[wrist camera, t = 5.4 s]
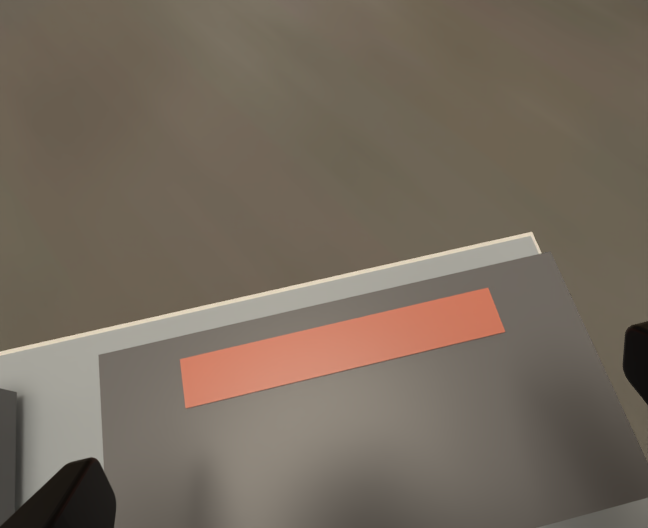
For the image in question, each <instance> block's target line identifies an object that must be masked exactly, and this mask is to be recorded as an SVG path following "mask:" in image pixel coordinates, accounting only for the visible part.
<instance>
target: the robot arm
mask: <svg viewBox="0 0 648 528" xmlns="http://www.w3.org/2000/svg"><path fill="white" fill-rule="evenodd" d="M623 370H624V373H625V376H626V378H627V379H628V381H629V382H630V383H631V385H632V386H633V387H634V388H635V390H636V391H637V392H638V393H639V395H640V396H641V397H642V398H643V400H644V401H645V402H646V403H647V405H648V321H647V322H643V323H639V324H635V325H631V326H630V327H628V329H627V330H626V332H625V342H624V354H623ZM115 516H116V497H115V494H114V491H113V489H112V487H111V485H110V483H109V480H108V478H107V476H106V474H105V472H104V470H103V468H102V466H101V464H100V462H99V461H98V460H97V459H96V458H93V457H89V458H85V459H80V460H76V461H72V462H69V463H67V464H66V465H64V466H63V467H62V468H61V469H60V470H59V471H58V472H57V473H56V474H55V475H54V476H53V477H52V478H51V479H50V480H48V481H47V482H46V483H45V484H44V485H43V486H42V487H41V488H40V489H39V490H38V491H37V492H36V493H35V494H34V495H33V496H32V497H31V498H29V499H28V500H27V501H26V502H25V503H24V504H23V505H22V506H21V507H20V508H19V509H18V510H17V511H16V512H15V513H14V514H13V515H11V516H10V517H9V518H8V519H7V520H6V521H5V522H4V523H3V524H2V525H1V526H0V528H114V525H115Z"/></svg>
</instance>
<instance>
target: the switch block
mask: <svg viewBox="0 0 648 528" xmlns="http://www.w3.org/2000/svg"><path fill="white" fill-rule="evenodd" d="M537 254H541V251H540V249H539V246H538V244H537V242H536V240H535V238H534V235H533V233H532V232H529V233H525V234H520V235H516V236H511V237H507V238H502V239H498V240H493V241H489V242H485V243H480V244H476V245H471V246H467V247H462V248H458V249H454V250H449V251H445V252H440V253H436V254H431V255H427V256H422V257H418V258H414V259H409V260H405V261H400V262H396V263H391V264H387V265H383V266H378V267H374V268H369V269H365V270H360V271H356V272H352V273H347V274H343V275H338V276H334V277H329V278H325V279H320V280H316V281H312V282H307V283H303V284H298V285H294V286H289V287H285V288H281V289H276V290H272V291H267V292H263V293H258V294H254V295H249V296H245V297H241V298H236V299H232V300H227V301H223V302H218V303H214V304H210V305H205V306H201V307H196V308H192V309H187V310H183V311H179V312H174V313H170V314H165V315H161V316H156V317H152V318H147V319H143V320H139V321H134V322H130V323H125V324H121V325H116V326H112V327H108V328H103V329H99V330H94V331H90V332H85V333H81V334H76V335H72V336H68V337H63V338H59V339H54V340H50V341H45V342H41V343H37V344H32V345H28V346H23V347H19V348H14V349H10V350H6V351H1V352H0V388H1V389H5V390H10V391H14V392H17V409H16V466H15V512H16V511H17V510H18V509H19V508H20V507H21V506H22V505H23V504H24V503H25V502H26V501H27V500H28V499H29V498H31V497H32V496H33V495H34V494H35V493H36V492H37V491H38V490H39V489H40V488H41V487H42V486H43V485H44V484H45V483H46V482H47V481H48V480H50V479H51V478H52V477H53V476H54V475H55V474H56V473H57V472H58V471H59V470H60V469H61V468H62V467H63V466H64V465H66V464H67V463H69V462H72V461H76V460H80V459H85V458H89V457H93V458H96V459H97V460H98V461H99V462H100V464H101V466H102V468H103V470H104V460H103V439H102V419H101V398H100V378H99V357H98V355H100V354H104V353H109V352H113V351H118V350H122V349H126V348H131V347H135V346H139V345H144V344H148V343H152V342H157V341H161V340H166V339H170V338H174V337H179V336H183V335H187V334H192V333H196V332H200V331H205V330H209V329H214V328H218V327H222V326H227V325H231V324H235V323H240V322H244V321H248V320H253V319H257V318H262V317H266V316H270V315H275V314H279V313H283V312H288V311H292V310H296V309H301V308H305V307H310V306H314V305H318V304H323V303H327V302H331V301H336V300H340V299H345V298H349V297H353V296H358V295H362V294H366V293H371V292H375V291H379V290H384V289H388V288H393V287H397V286H401V285H406V284H410V283H414V282H419V281H423V280H427V279H432V278H436V277H441V276H445V275H449V274H454V273H458V272H462V271H467V270H471V269H475V268H480V267H484V266H489V265H493V264H497V263H502V262H506V261H510V260H515V259H519V258H523V257H528V256H532V255H537ZM538 528H648V498H645V499H641V500H638V501H634V502H630V503H627V504H623V505H619V506H615V507H612V508H608V509H604V510H601V511H597V512H593V513H590V514H586V515H582V516H579V517H575V518H571V519H568V520H564V521H560V522H556V523H553V524H549V525H545V526H542V527H538Z"/></svg>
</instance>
